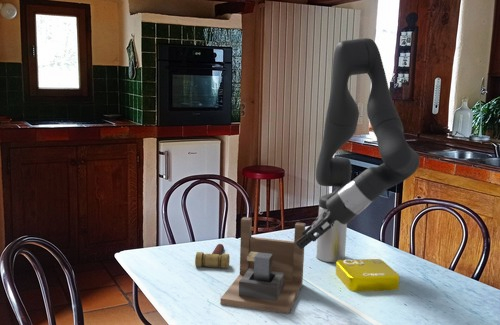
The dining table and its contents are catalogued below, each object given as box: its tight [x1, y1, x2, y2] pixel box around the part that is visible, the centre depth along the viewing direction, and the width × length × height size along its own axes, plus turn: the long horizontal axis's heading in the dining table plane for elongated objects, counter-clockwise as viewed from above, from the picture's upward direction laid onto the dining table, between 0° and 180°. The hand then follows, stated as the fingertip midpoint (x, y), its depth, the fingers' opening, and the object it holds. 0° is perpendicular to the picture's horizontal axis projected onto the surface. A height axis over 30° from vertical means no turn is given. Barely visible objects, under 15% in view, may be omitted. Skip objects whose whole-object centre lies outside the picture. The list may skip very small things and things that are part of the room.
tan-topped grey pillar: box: [247, 251, 273, 283], centre depth 142 cm, size 4×6×10 cm, turn 75°
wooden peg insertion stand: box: [219, 216, 306, 315], centre depth 143 cm, size 20×18×18 cm
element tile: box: [335, 258, 400, 292], centre depth 156 cm, size 15×15×5 cm
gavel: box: [194, 243, 230, 270], centre depth 171 cm, size 21×5×10 cm
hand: (301, 240), depth 137 cm, fingers open, 8 cm apart
